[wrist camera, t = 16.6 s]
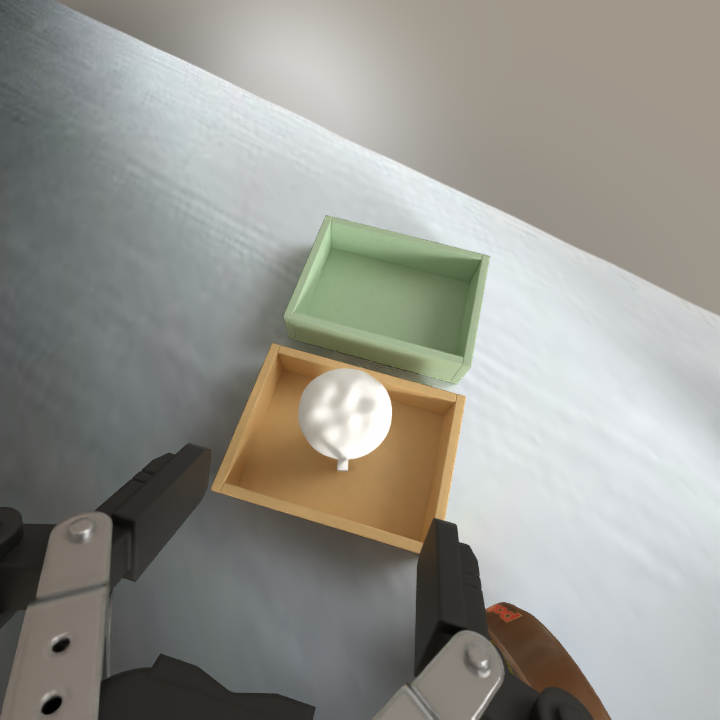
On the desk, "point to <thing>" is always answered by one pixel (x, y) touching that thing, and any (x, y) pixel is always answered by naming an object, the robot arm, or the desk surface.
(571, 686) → the tin
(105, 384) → the desk surface
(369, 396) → the milkshake
